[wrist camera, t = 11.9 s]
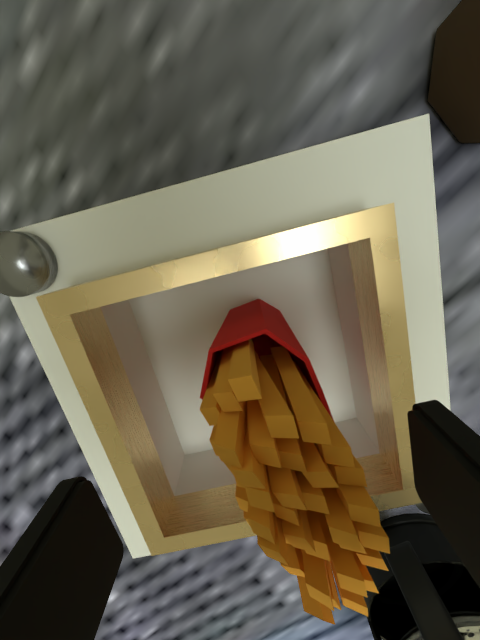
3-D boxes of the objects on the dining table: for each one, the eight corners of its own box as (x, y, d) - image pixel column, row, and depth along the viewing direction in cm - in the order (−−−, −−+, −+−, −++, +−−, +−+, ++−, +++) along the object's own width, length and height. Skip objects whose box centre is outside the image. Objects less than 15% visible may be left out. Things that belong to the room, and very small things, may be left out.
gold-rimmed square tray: (39, 238, 17) (-74, 239, 11) (383, 142, 16) (475, 83, 10) (151, 503, 23) (117, 605, 16) (417, 448, 21) (491, 535, 15)
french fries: (208, 302, 18) (148, 421, 6) (271, 278, 17) (330, 357, 6) (258, 418, 20) (281, 668, 8) (315, 399, 20) (422, 634, 8)
